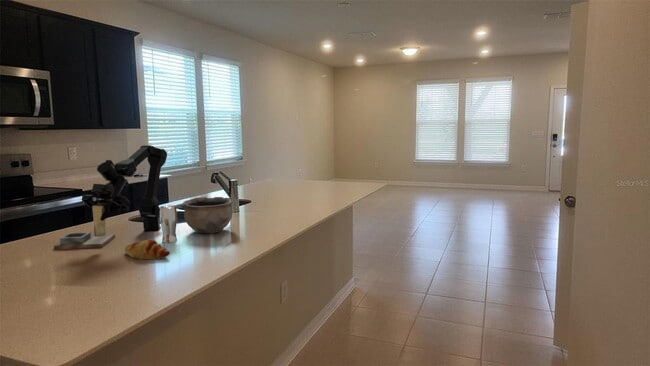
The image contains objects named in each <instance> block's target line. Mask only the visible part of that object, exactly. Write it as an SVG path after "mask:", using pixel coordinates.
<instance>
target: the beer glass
mask: <svg viewBox="0 0 650 366" xmlns="http://www.w3.org/2000/svg"><path fill="white" fill-rule="evenodd" d="M159 208H160V227H161V231H162V232H161V233H162V238H161V242H162V243H163V242H165V244H170V243H169V242H172V243H175V242H174V241H176V242H178V237H177V231H176V230H177V225H178V211H177V205H163V206H159Z"/></svg>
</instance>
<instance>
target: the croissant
mask: <svg viewBox="0 0 650 366" xmlns="http://www.w3.org/2000/svg"><path fill="white" fill-rule="evenodd" d="M124 252H125V253H126V254H127V256H129V257H131V258H133V259H136V258H139V260H160V259H165V258H166V257H168V256H169V255H170V250H168V249H167V248H165V247H163V246H162V244H161V243H158V242H157V241H156V240H155V239H146V240H142V241H136V242H133V243H131V244H129V245H127V246H126V247H125V248H124ZM159 258H160V259H159Z"/></svg>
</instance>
